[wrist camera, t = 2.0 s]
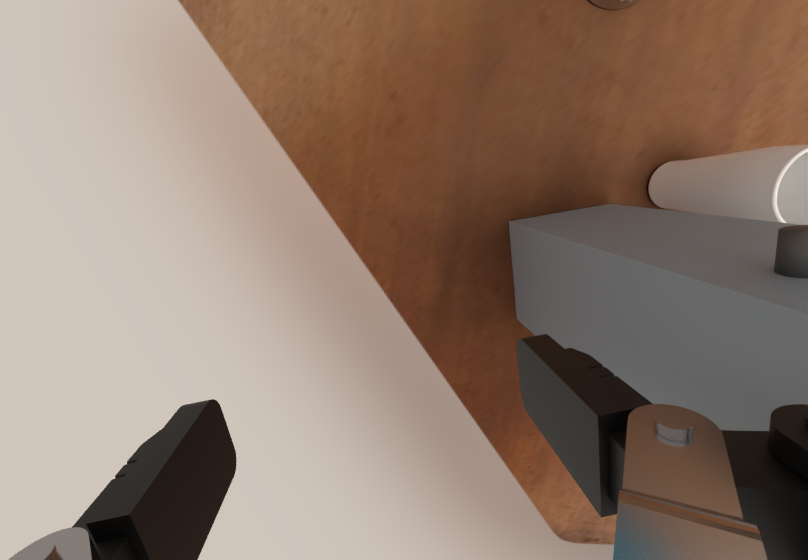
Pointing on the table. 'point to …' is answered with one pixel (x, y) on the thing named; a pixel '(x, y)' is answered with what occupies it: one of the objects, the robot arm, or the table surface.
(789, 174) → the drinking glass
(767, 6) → the table surface
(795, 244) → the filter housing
